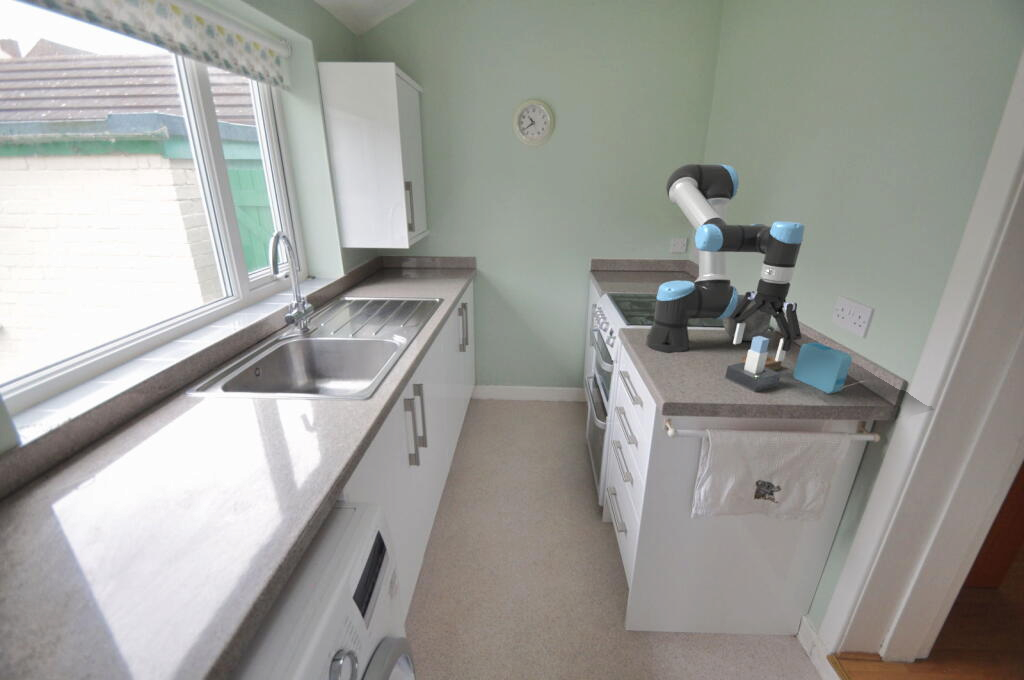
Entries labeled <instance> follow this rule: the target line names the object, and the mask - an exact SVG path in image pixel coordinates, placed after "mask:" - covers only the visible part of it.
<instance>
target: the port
mask: <svg viewBox="0 0 1024 680" xmlns="http://www.w3.org/2000/svg"><path fill="white" fill-rule="evenodd" d="M745 363H746V362H743V363H741V362H739V363H736V364H731V365H727V368H726V371H725V376H724V379H726V380H728V381H730V382H731V383H732V382H733V383H734V384H736V385H739V386H740V387H743V388H745V389H747V390H749V391H751V392H753V393H757V392H761V391H764V390H768V389H771V388H775V387H778V385H779V382H780V377H781V372H778V371H776V370H771V369H768V368H766V367H764V370H763V373H759V374H754V373H751V372H749V371H747V370H745V369H744V367H745Z"/></svg>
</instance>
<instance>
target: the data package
mask: <svg viewBox="0 0 1024 680" xmlns="http://www.w3.org/2000/svg"><path fill="white" fill-rule="evenodd" d="M852 361H853V358H852V356H851V354H849V353H848V352H845V351H842V350H839V349H836V348H834V347H831V346H827V345H824V344H822V343H819V342H815V341H814V342H810V343H809V342H808V343H802V345H801V346H800V350H799V352H798V356H797V359H796V363H795V368H794V371H793V376H792V377H793V379H795V380H798V381H800V382H802V383H805V384H806V385H809V386H812V387H814V388H815V389H818V390H821V391H823V394H826V395H831V394H834V393H839V392H841V391H842V390H843V388H844V386H845V381H846V379H847V376H848V373H849V370H850V367H851V364H852Z"/></svg>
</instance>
